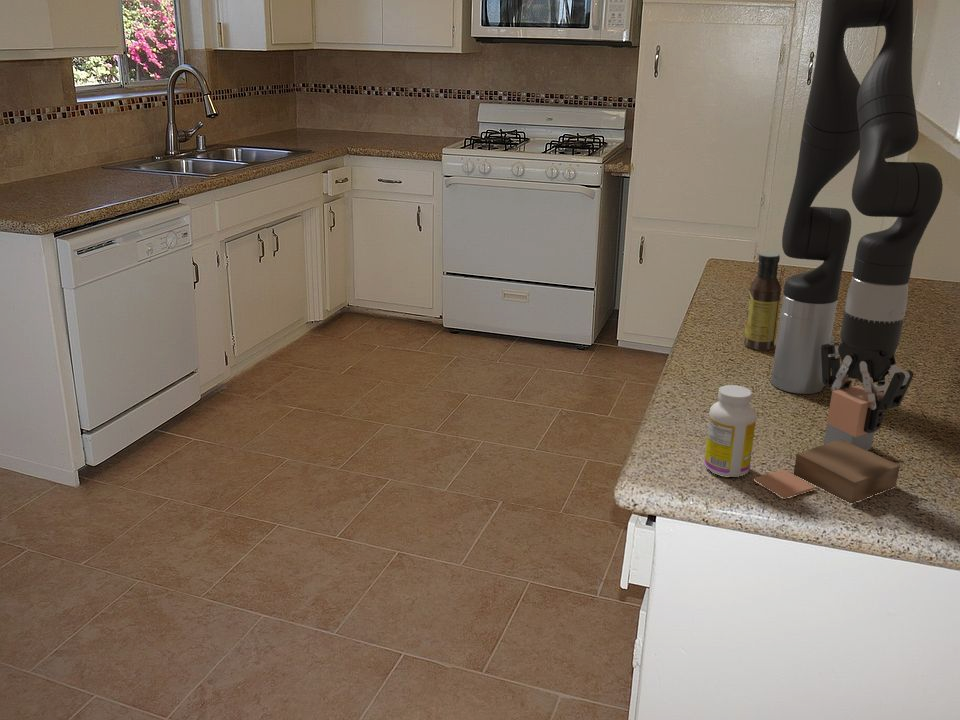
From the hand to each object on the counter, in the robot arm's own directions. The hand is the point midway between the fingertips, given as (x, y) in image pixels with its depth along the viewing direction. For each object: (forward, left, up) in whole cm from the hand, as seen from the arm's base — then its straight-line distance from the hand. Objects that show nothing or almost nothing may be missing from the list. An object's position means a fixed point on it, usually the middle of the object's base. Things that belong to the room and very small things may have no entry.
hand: (854, 423), depth 125 cm
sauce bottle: (-31, -49, -10) cm, 59 cm away
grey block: (-10, -8, -10) cm, 16 cm away
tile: (+9, -3, -9) cm, 13 cm away
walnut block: (0, 0, -10) cm, 10 cm away
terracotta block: (0, 0, 0) cm, 0 cm away
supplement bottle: (+13, -11, -10) cm, 19 cm away
